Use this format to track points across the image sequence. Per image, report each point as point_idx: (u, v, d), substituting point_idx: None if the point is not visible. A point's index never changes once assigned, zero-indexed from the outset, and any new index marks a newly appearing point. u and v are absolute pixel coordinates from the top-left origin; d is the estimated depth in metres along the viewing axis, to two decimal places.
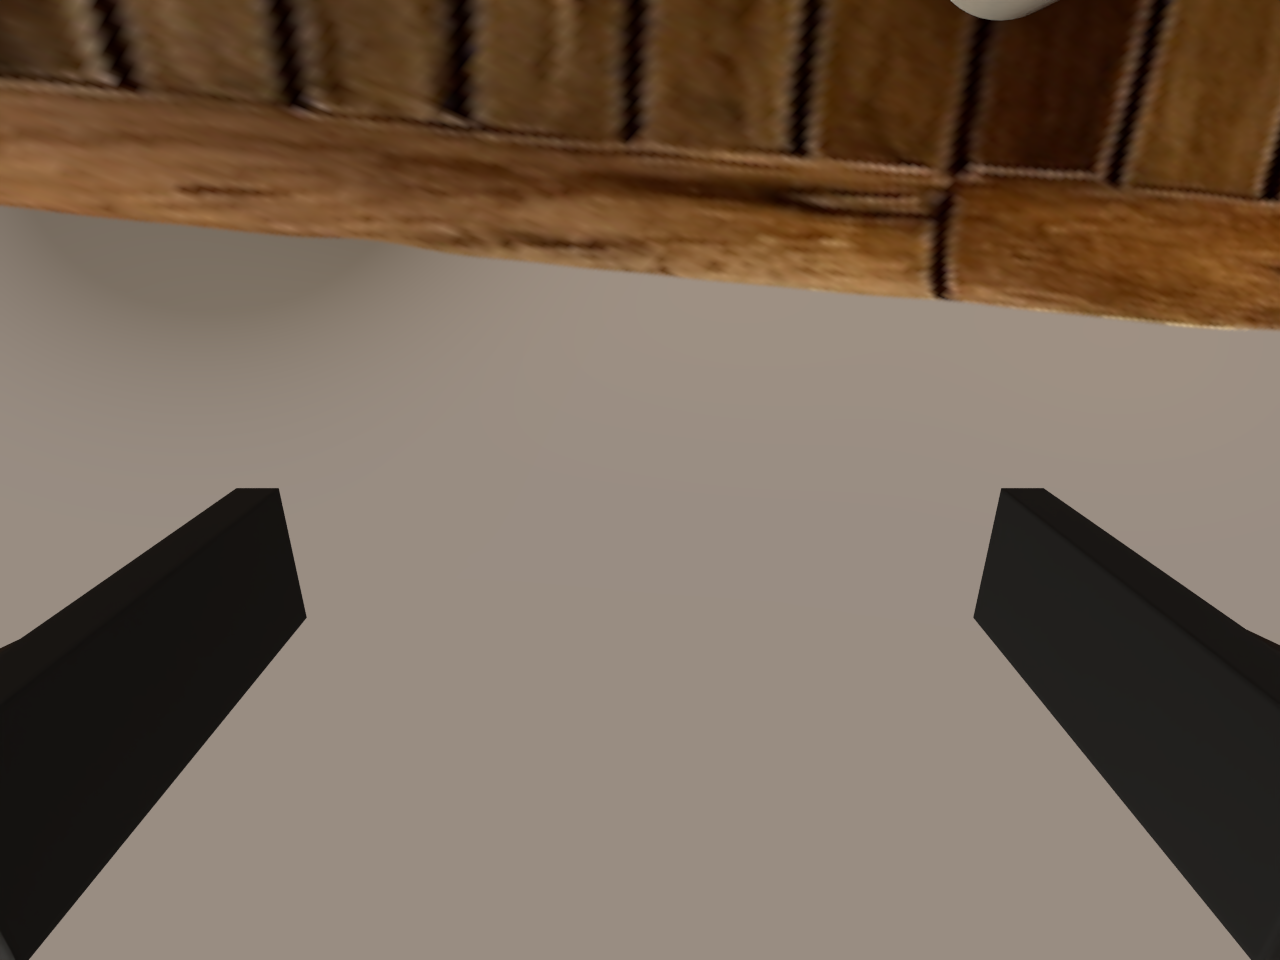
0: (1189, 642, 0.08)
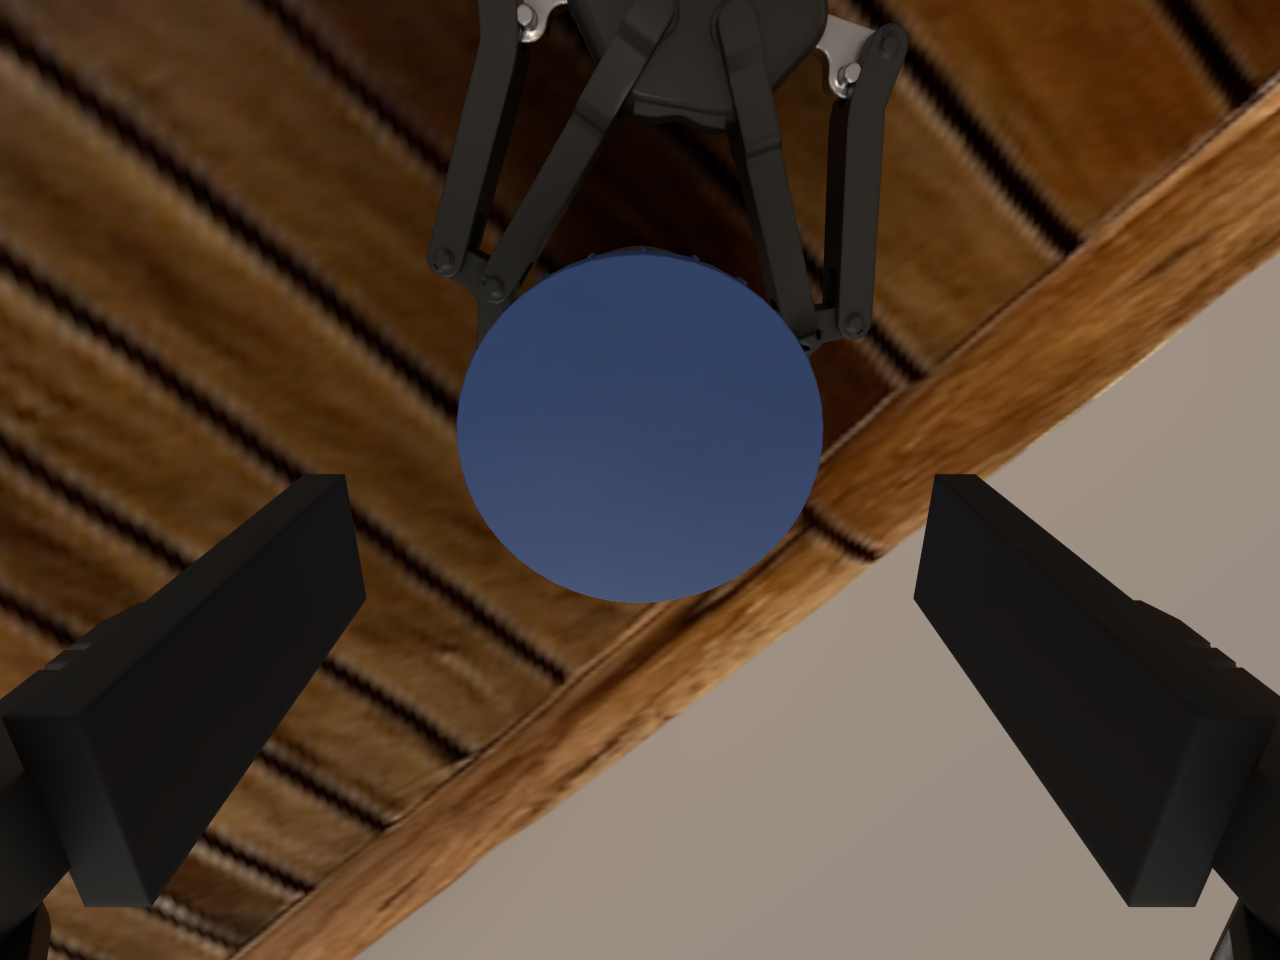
0: (1077, 610, 0.09)
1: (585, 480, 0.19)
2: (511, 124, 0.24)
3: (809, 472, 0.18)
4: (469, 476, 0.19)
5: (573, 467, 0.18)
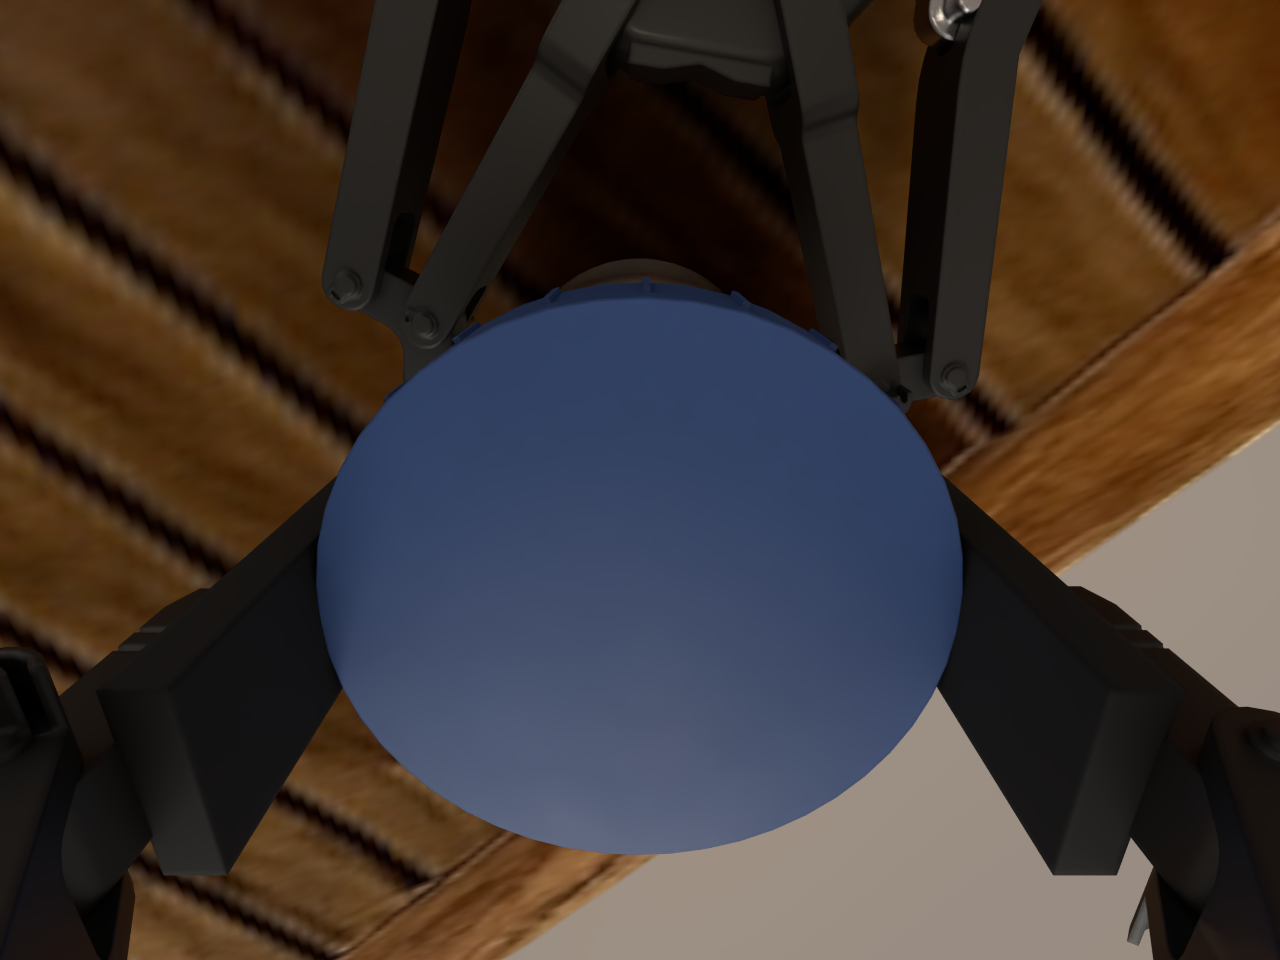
0: (1011, 593, 0.09)
1: (545, 677, 0.11)
2: (448, 83, 0.16)
3: (933, 666, 0.11)
4: (345, 671, 0.11)
5: (524, 658, 0.11)
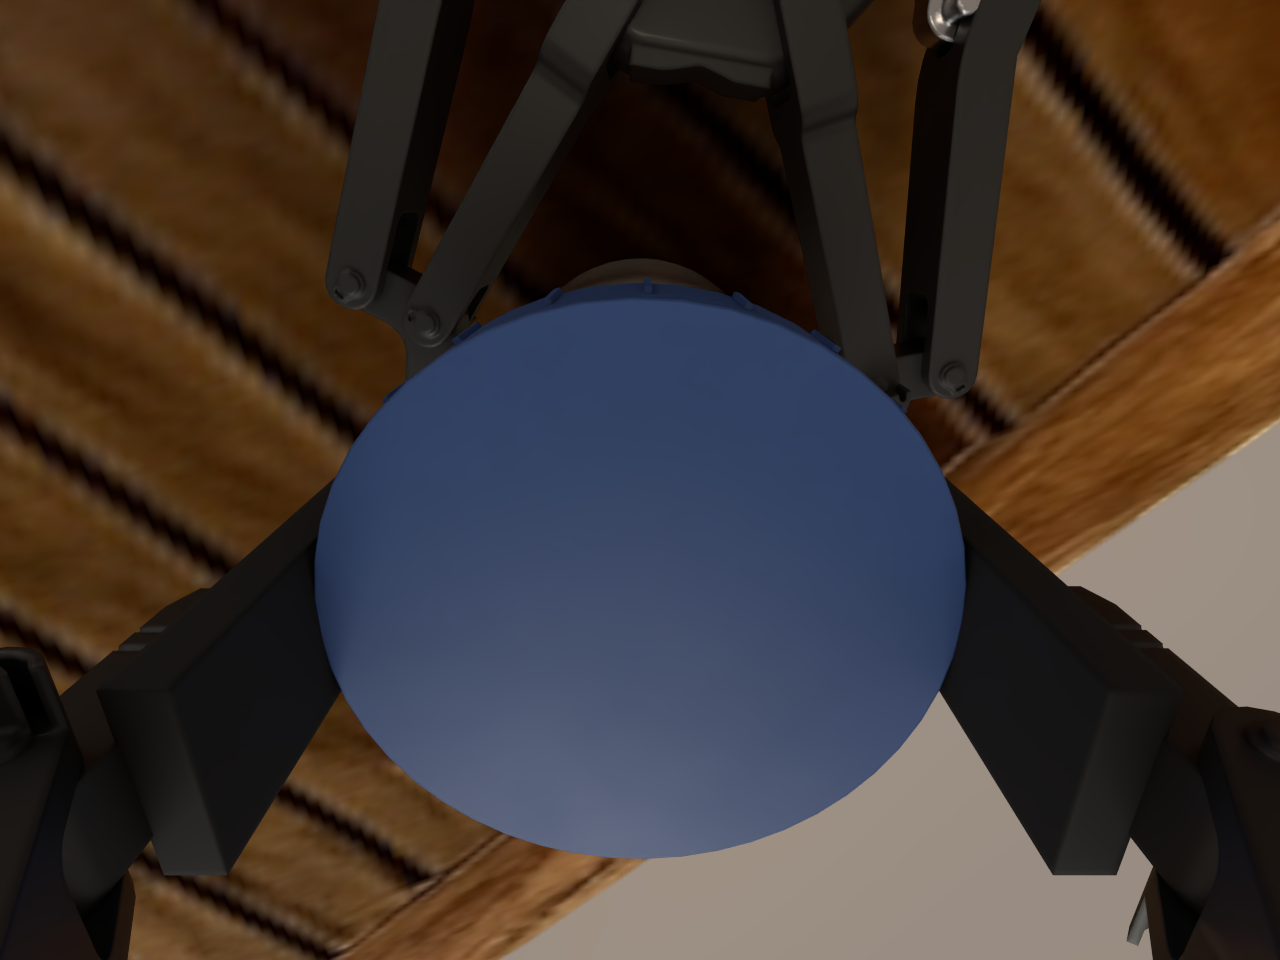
0: (1011, 593, 0.09)
1: (651, 721, 0.11)
2: (451, 84, 0.16)
3: (852, 388, 0.09)
4: (562, 843, 0.12)
5: (622, 726, 0.11)
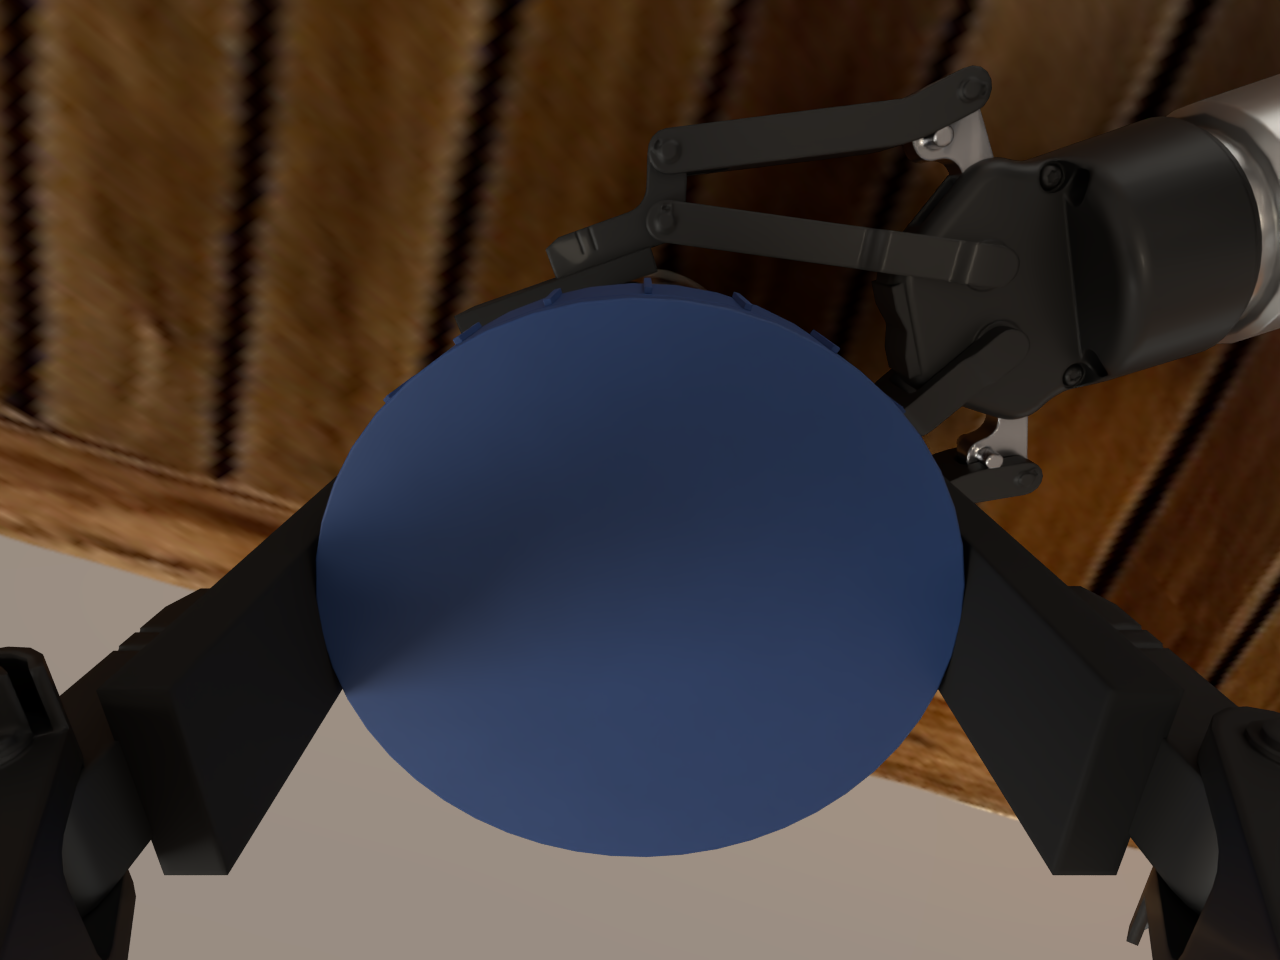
0: (1011, 593, 0.09)
1: (651, 719, 0.11)
2: None
3: (852, 388, 0.09)
4: (562, 842, 0.12)
5: (621, 724, 0.11)
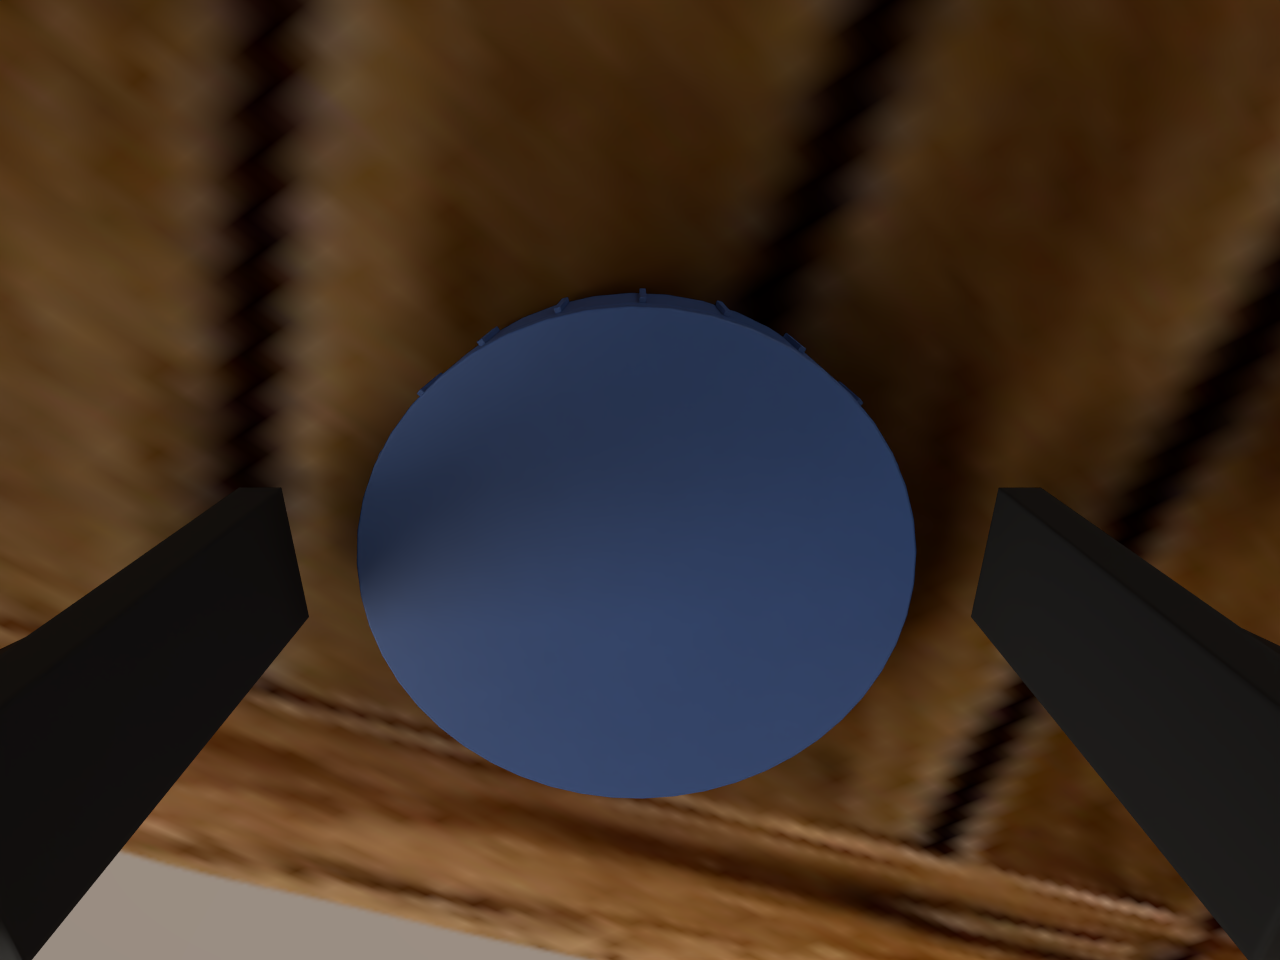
0: (1184, 641, 0.08)
1: (647, 672, 0.13)
2: None
3: (815, 382, 0.11)
4: (568, 784, 0.14)
5: (621, 677, 0.13)
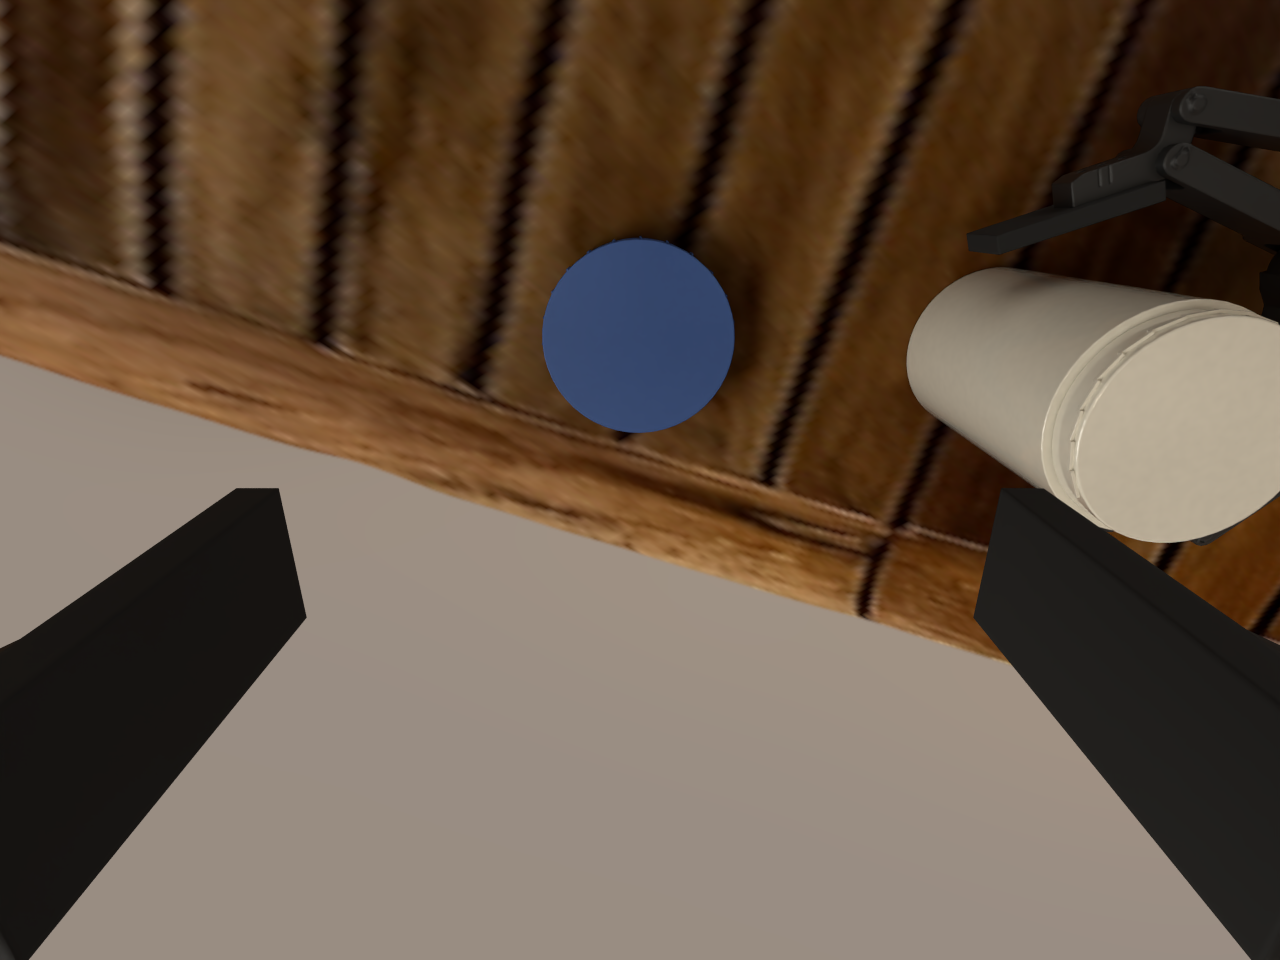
0: (1189, 642, 0.08)
1: (642, 375, 0.35)
2: (1266, 147, 0.28)
3: (695, 264, 0.33)
4: (612, 426, 0.36)
5: (632, 377, 0.35)
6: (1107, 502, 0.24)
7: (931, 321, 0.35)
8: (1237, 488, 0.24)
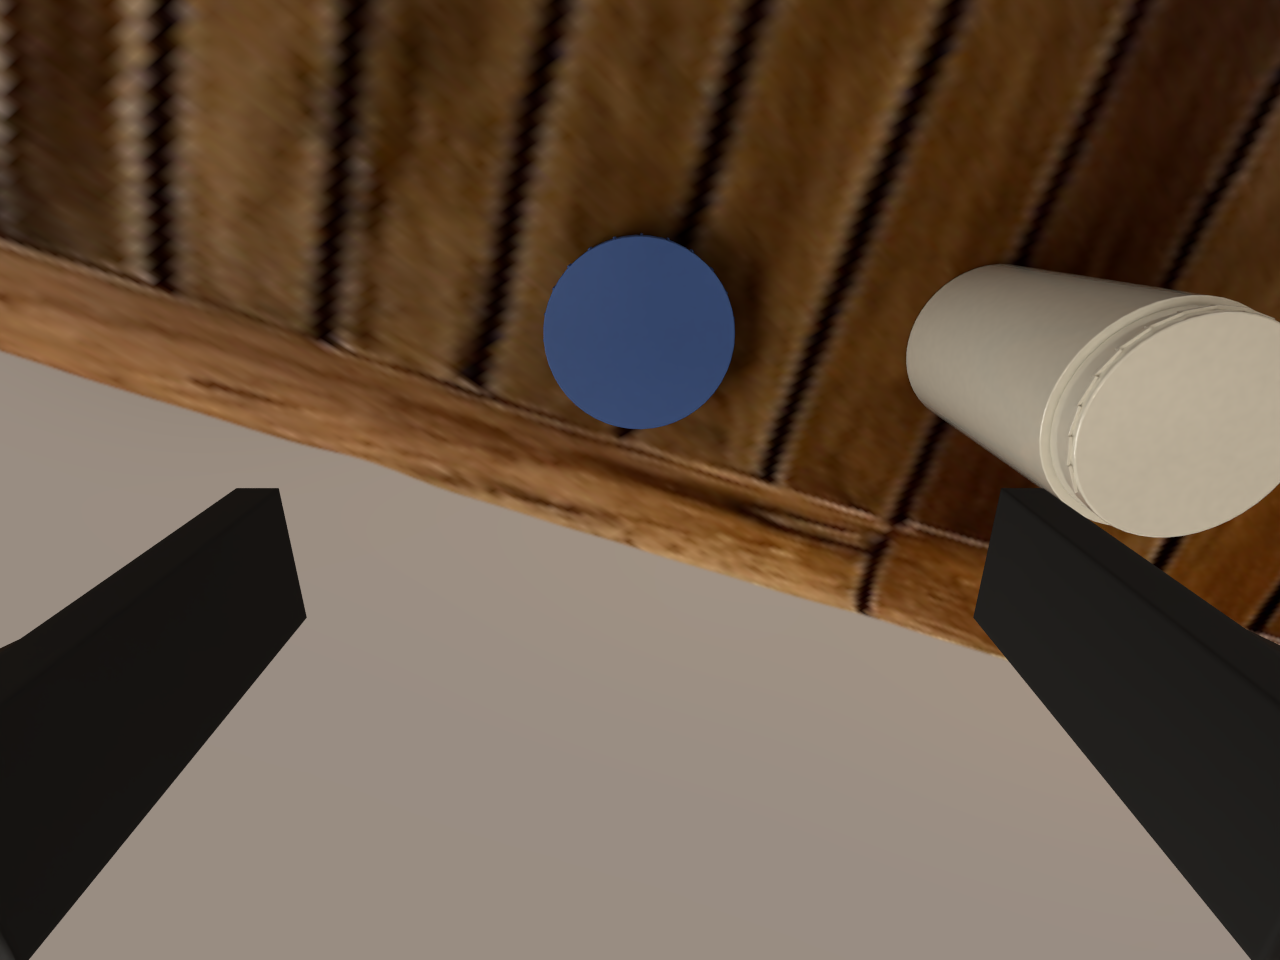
0: (1189, 642, 0.08)
1: (642, 372, 0.36)
2: None
3: (695, 261, 0.33)
4: (613, 422, 0.37)
5: (633, 373, 0.36)
6: (1105, 497, 0.24)
7: (931, 317, 0.35)
8: (1234, 484, 0.24)
